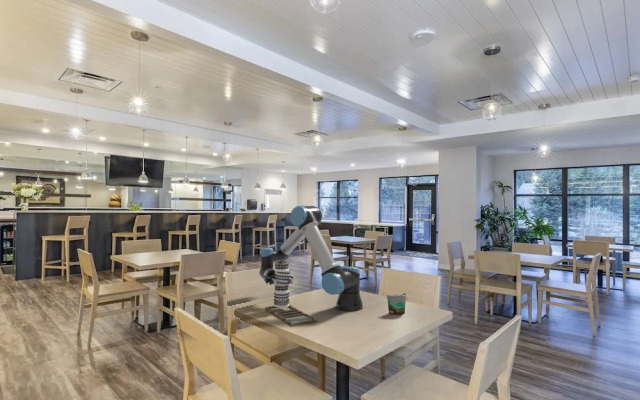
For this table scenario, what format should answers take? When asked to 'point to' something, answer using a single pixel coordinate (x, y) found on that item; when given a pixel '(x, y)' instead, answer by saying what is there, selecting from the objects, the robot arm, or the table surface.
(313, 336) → the table surface
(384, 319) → the table surface
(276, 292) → the decorative candle
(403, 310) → the food container
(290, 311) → the brown flat rectangular frame
